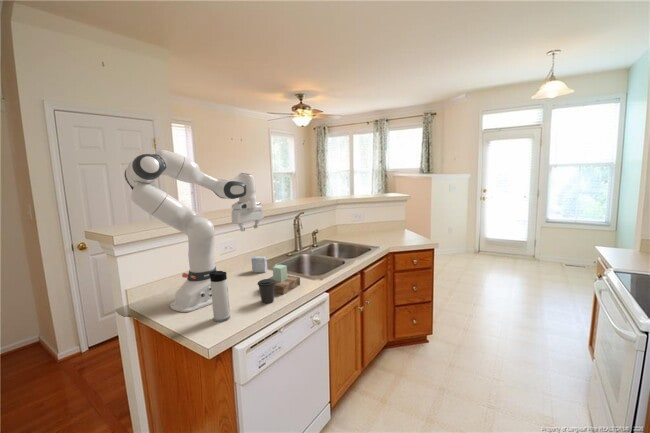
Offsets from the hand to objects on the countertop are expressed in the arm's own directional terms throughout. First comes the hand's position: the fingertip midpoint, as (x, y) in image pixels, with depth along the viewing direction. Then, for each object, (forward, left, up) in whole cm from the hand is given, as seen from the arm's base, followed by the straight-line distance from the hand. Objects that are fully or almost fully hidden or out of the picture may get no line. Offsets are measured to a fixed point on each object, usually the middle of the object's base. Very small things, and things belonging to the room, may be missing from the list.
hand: (249, 229), depth 161 cm
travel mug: (-39, -21, -28) cm, 53 cm away
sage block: (-3, -22, -24) cm, 32 cm away
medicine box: (+12, +5, -28) cm, 31 cm away
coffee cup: (-18, -27, -28) cm, 43 cm away
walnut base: (-2, -22, -28) cm, 35 cm away
